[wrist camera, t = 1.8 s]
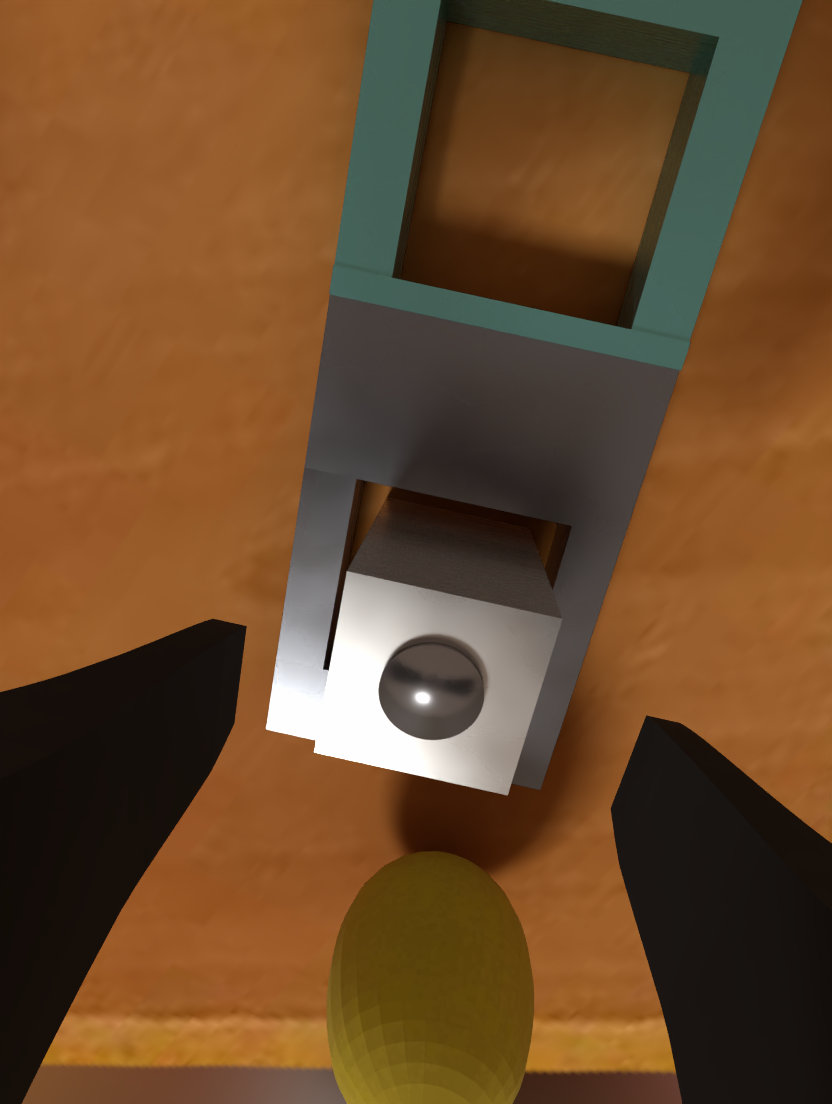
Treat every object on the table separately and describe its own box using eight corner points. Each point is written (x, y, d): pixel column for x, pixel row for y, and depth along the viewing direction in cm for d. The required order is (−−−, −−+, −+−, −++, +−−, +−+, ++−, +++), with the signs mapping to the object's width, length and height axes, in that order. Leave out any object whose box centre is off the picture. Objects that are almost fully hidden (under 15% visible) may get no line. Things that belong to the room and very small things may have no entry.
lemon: (419, 765, 19) (390, 1032, 12) (554, 856, 20) (609, 1162, 13) (323, 870, 21) (244, 1163, 13) (452, 951, 22) (446, 1272, 14)
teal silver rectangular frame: (281, 699, 19) (264, 731, 17) (409, -128, 13) (401, -198, 11) (534, 755, 19) (540, 792, 17) (791, -47, 13) (838, -104, 11)
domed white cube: (362, 626, 18) (312, 758, 12) (387, 496, 17) (344, 574, 11) (494, 655, 18) (508, 802, 12) (529, 528, 17) (563, 623, 11)
